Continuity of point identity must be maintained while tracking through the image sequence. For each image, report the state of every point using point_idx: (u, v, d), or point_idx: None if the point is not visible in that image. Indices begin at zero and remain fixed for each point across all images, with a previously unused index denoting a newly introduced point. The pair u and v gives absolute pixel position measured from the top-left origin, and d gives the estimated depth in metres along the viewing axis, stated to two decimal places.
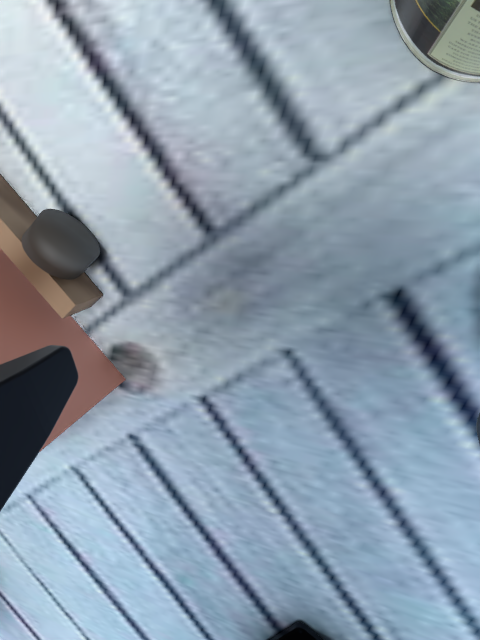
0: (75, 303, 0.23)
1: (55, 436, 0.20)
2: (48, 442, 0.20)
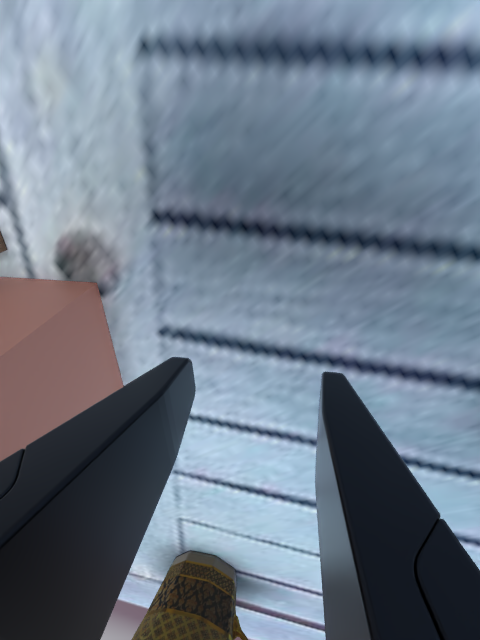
0: None
1: (3, 352, 0.16)
2: None
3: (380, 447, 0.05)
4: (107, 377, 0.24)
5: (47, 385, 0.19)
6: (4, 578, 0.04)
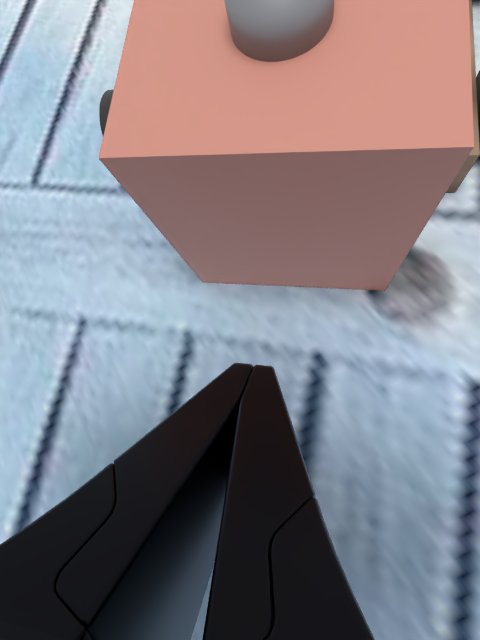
0: (478, 154, 0.17)
1: (429, 216, 0.12)
2: (434, 207, 0.11)
3: (281, 434, 0.05)
4: (262, 276, 0.19)
5: (329, 237, 0.14)
6: (124, 609, 0.04)
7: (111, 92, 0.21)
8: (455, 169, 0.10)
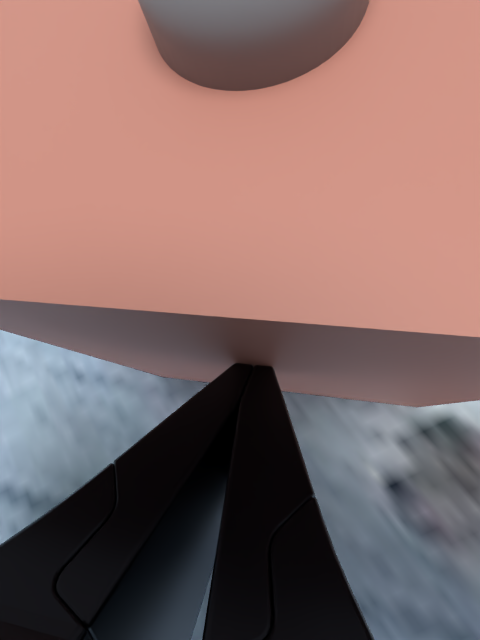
0: None
1: None
2: None
3: (281, 434, 0.05)
4: None
5: (345, 380, 0.08)
6: (125, 609, 0.04)
7: None
8: None
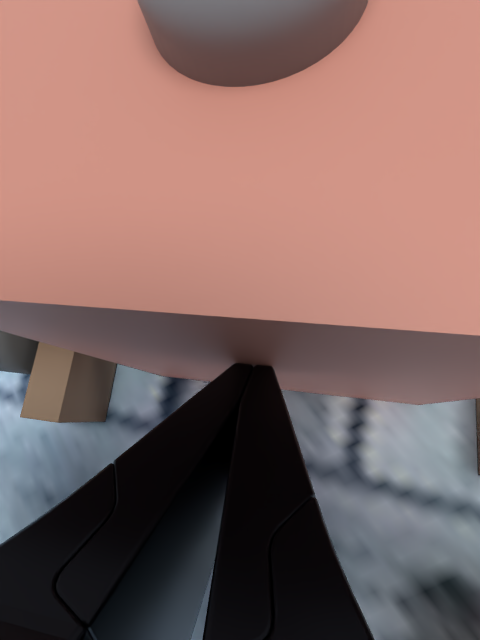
0: None
1: None
2: None
3: (282, 433, 0.05)
4: None
5: (346, 379, 0.08)
6: (125, 609, 0.04)
7: None
8: None
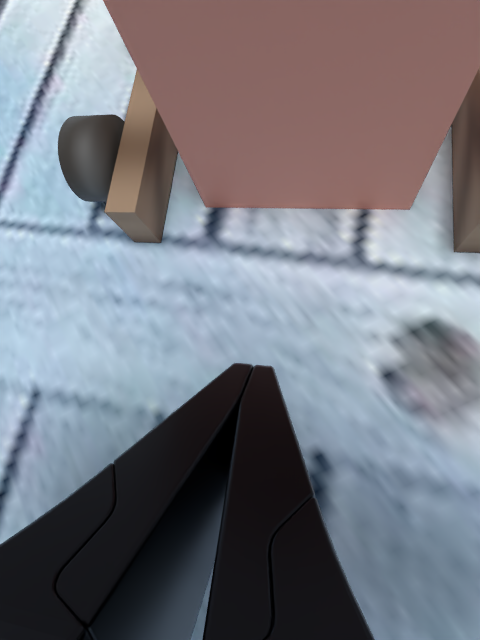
0: None
1: None
2: None
3: (281, 434, 0.05)
4: (272, 192, 0.17)
5: (356, 110, 0.12)
6: (125, 609, 0.04)
7: (73, 120, 0.17)
8: None
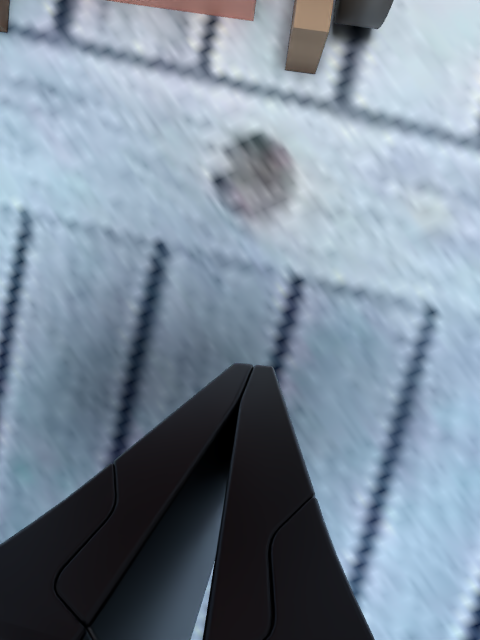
0: (328, 31, 0.15)
1: None
2: None
3: (281, 434, 0.05)
4: None
5: None
6: (124, 608, 0.04)
7: None
8: None
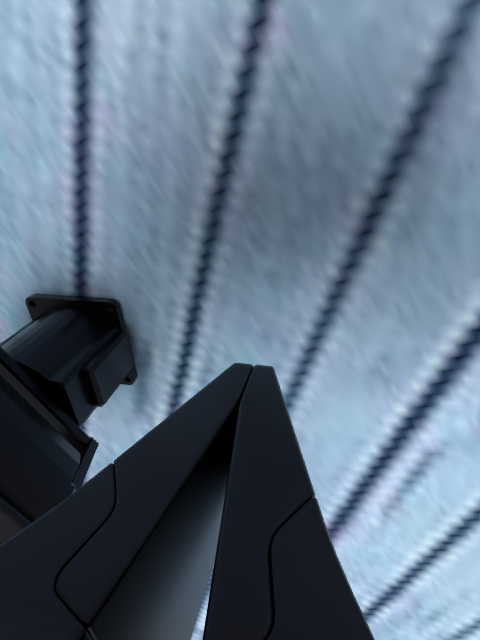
0: None
1: None
2: None
3: (282, 434, 0.05)
4: None
5: None
6: (124, 608, 0.04)
7: None
8: None
